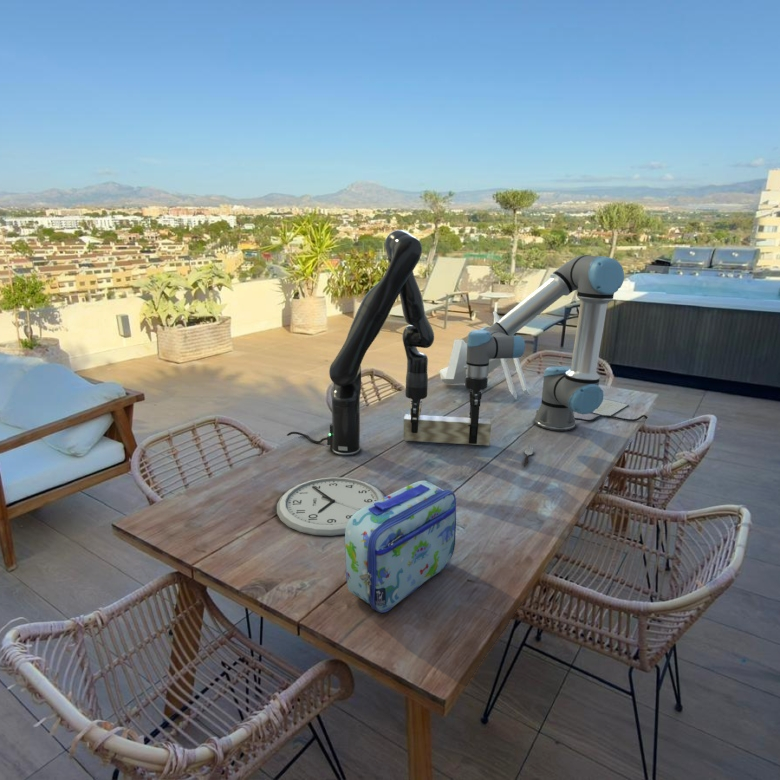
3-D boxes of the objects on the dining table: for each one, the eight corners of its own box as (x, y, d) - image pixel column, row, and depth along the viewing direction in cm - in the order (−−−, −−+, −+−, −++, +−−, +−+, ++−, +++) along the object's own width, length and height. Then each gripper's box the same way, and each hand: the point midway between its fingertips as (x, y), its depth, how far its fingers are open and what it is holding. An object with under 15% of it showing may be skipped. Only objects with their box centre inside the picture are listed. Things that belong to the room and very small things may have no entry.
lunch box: (374, 626, 100) (375, 530, 93) (338, 598, 107) (337, 508, 101) (459, 568, 117) (465, 484, 111) (424, 547, 124) (427, 467, 118)
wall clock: (392, 527, 129) (268, 531, 127) (391, 533, 130) (269, 537, 127) (383, 473, 158) (282, 475, 155) (383, 478, 158) (282, 480, 156)
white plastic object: (461, 429, 252) (437, 405, 227) (444, 352, 274) (420, 323, 250) (535, 404, 240) (518, 377, 215) (510, 326, 262) (492, 293, 237)
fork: (520, 467, 167) (520, 462, 166) (525, 449, 181) (526, 443, 181) (528, 469, 166) (529, 463, 165) (533, 450, 180) (533, 444, 180)
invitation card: (608, 416, 214) (573, 407, 224) (608, 416, 214) (573, 408, 224) (628, 404, 229) (594, 396, 238) (628, 405, 229) (594, 397, 238)
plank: (488, 440, 185) (490, 418, 183) (489, 445, 181) (491, 423, 178) (404, 435, 189) (405, 414, 186) (403, 440, 184) (403, 419, 181)
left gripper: (407, 377, 187) (406, 421, 192) (403, 389, 173) (402, 436, 178) (428, 378, 186) (426, 423, 191) (426, 390, 172) (424, 438, 178)
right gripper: (464, 369, 186) (461, 430, 192) (466, 383, 168) (462, 449, 175) (486, 369, 185) (482, 431, 192) (489, 384, 168) (484, 451, 174)
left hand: (415, 429), depth 185 cm, fingers closed on plank, 5 cm apart
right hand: (472, 439), depth 183 cm, fingers closed on plank, 5 cm apart
